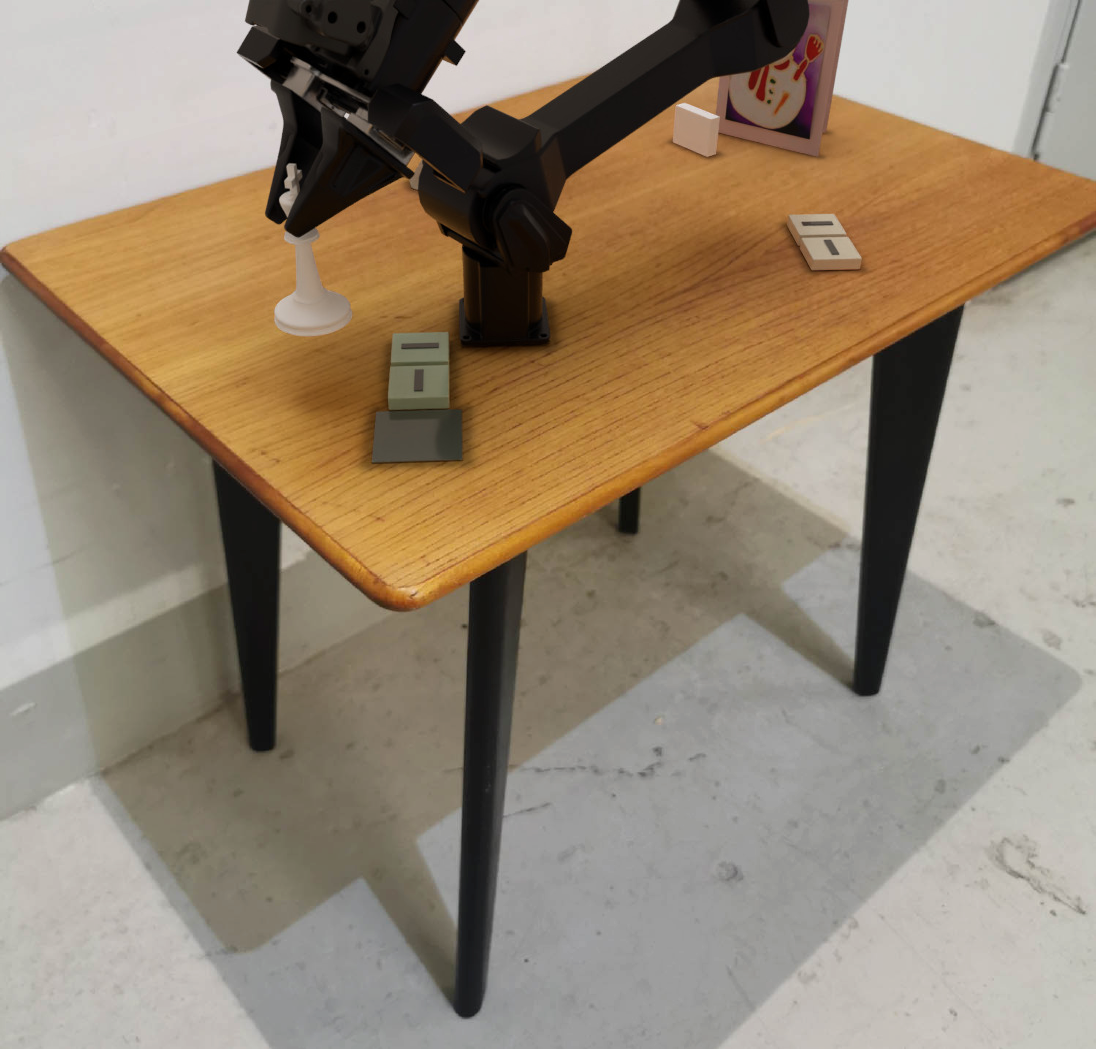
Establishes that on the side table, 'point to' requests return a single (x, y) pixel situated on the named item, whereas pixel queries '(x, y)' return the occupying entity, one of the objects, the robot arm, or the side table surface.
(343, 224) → the side table surface
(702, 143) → the eraser
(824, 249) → the beige domino tile
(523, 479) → the side table surface
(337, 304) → the chess piece
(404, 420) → the green and grey panel
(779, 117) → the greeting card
